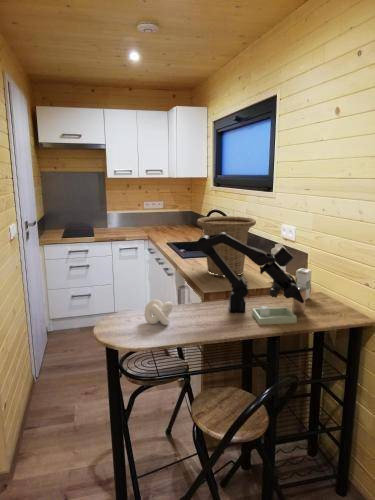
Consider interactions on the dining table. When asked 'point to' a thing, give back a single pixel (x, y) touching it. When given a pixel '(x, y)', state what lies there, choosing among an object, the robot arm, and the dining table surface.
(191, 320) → the dining table surface
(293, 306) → the coffee tin
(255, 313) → the tote
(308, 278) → the syrup box
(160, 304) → the cream knot sculpture
